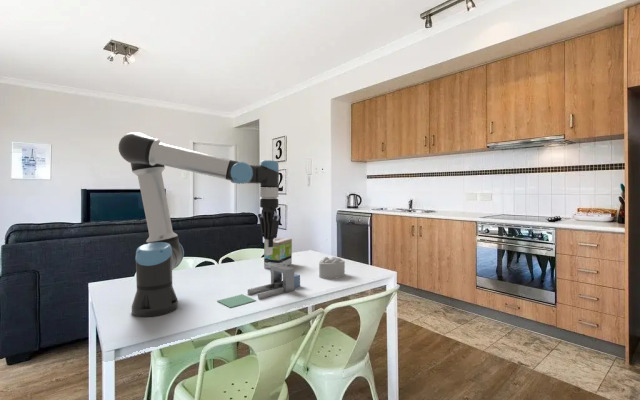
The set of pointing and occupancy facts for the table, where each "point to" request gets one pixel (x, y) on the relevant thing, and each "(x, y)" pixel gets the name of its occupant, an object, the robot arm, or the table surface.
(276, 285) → the plug
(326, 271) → the lumpy-topped squat cylinder
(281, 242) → the tea box
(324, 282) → the table surface
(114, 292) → the table surface
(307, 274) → the table surface
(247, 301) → the mat
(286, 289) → the grey stand
